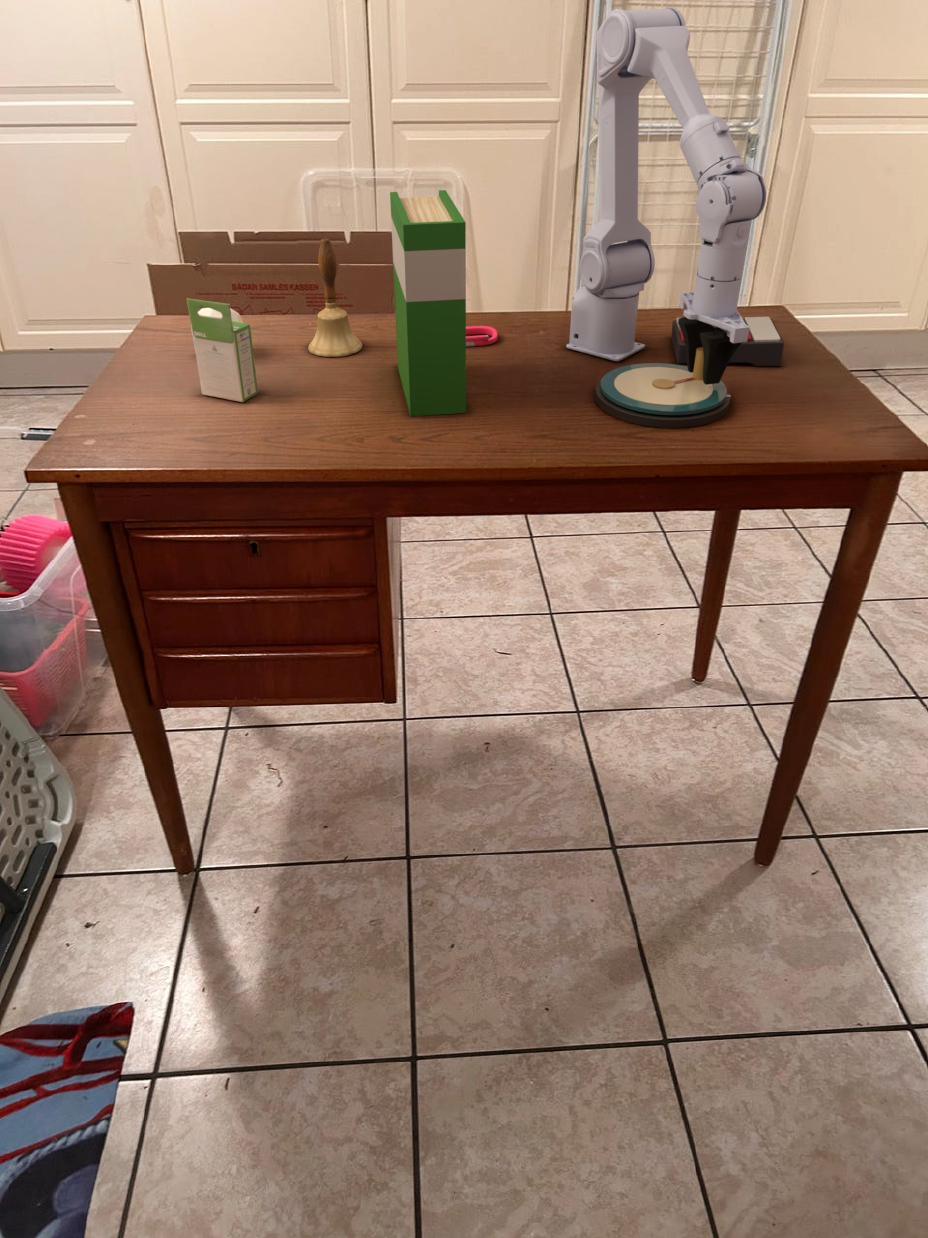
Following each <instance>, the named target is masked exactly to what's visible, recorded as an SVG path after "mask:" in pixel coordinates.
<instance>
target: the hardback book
mask: <svg viewBox="0 0 928 1238" xmlns="http://www.w3.org/2000/svg"><path fill="white" fill-rule="evenodd" d="M389 198H390V221H391V239H392V240H391V243H392V244H391V245H392V246H391V247H392V267H393V288H394V291H393V292H394V309H395V311H394V312H395V332H396V333H395V334H396V351H397V352H396V355H397V357H396V358H397V369H398V373H399V377H400V381H401V384H402V389H403V393H404V396H405V400H406V404H407V408H408V412H409V416H410V417H423V416H438V415H452V414H466V413H467V347H466V336H467V335H466V327H467V273H466V272H467V268H466V267H467V259H466V258H467V257H466V256H467V255H466V254H467V253H466V252H467V249H466V248H467V245H466V242H467V241H466V240H467V239H466V237H467V235H466V231H467V230H466V229H467V227H466V226H467V224H466V220H465V218H464V217H463V216H462V214H461V212H460V211H459V209H458V208H457V206H456V205H455V203H454V201H453V200H452V198H451V197H450V195H449V193H448V192H447V190H446V189H439V190H438V196H423V197H422V196H420V197H400V195H399V193H398V191H390V192H389Z"/></svg>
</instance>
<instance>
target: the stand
mask: <svg viewBox="0 0 928 1238" xmlns="http://www.w3.org/2000/svg"><path fill="white" fill-rule="evenodd" d="M600 387H601V380H599V381H598V382H597V384H596V386H595V394H594V398H595V399H594V400H595V402H596V404H597V406H598V407H599V408H600V409H601V410H602V411H603V412H605V413H606V414H608V415H610V416H612V417H614V418H616V419H618V420H621V421H624V422H626V423H631V424H635V425H638V426H643V427H651V428H659V429H685V428H695V427H700V426H704V425H708V424H712V423H713V422H716V421H718V420H720V419H721V418H723V417H724V416H726V414H727V413H728V411H729V410H730V404H731V397H732V396H731V394H730V392H729V391H728V389H727V395H726V399H725V400H724V402H723V403H722V404H721V405H719V406H718V407H716V408H714V409H711V410H709V411H705V412H701V413H696V414H688V415H658V414H650V413H644V412H639V411H635V410H631V409H628V408H625V407H622V406H620V405H618V404H615V403H614V402H612V401H610V400H609V399H608V398H606V397H605V396H604V395H603V393H602V391H601V388H600Z"/></svg>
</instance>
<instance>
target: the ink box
mask: <svg viewBox="0 0 928 1238" xmlns="http://www.w3.org/2000/svg"><path fill="white" fill-rule="evenodd" d="M186 305H187V309H188V315H189V318H190V319H189V320H190V329H191V335H192V341H193V346H194V347H193V348H194V353H195V359H196V365H197V371H198V379H199V384H200V389H201V395H203V396H209V397H214V398H219V399H223V400H229V401H234V402H240V403H244V402H246V401H248V400H249V399H251V398H254V397H255V396H257V395H258V394H259V389H258V380H257V372H256V363H255V356H254V355H255V354H254V346H253V336H252V329H251V324H250V323H245V322H243V323H240V322H234V321H232V318H231V310H230V308H231V304H230V303H224V302H218V301H209V300H202V299H196V298H189V297H187V298H186ZM202 308H211V309H214V310H216V311H218V312H220V313H221V314H222V317H221V318H218V317H210V316H203V315H199V313H198V312H199V311H200V310H201V309H202Z"/></svg>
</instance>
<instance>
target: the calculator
mask: <svg viewBox="0 0 928 1238" xmlns="http://www.w3.org/2000/svg"><path fill="white" fill-rule="evenodd" d="M740 316H741V318H742V319H743V321H744V323H745V324H746V325H747V326H749V327H750V328H749V333H748V339H747V342H742V344H741V345H740V346H739V347H738V348H737V350H736V351H735V352H734V354H733V355H732V357H731V359H730V360H729V362H728V364H739V363H740V364H741V363H742V364H743V363H748V364H751V365H752V366H754V367H779V366H781V365H782V359H783V352H784V345H785V342H784V339H783V337H782V335H781V334H780V332H779V329H778V328H777V326H776V324H775V322H774V321H773V318H771V317H770V316H746V317H744V318H743V316H742V315H740ZM680 318H681V317H676V319H675V320H672V325H671V336H670V337H671V338H670V340H671V343H672V347H673V352H674V355H675V359H676V363H677V364H678V365H687V357H686V348H685V342H684V338H683V334H682V331H681V328H680V326H679V324H678V321H679V319H680Z"/></svg>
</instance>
